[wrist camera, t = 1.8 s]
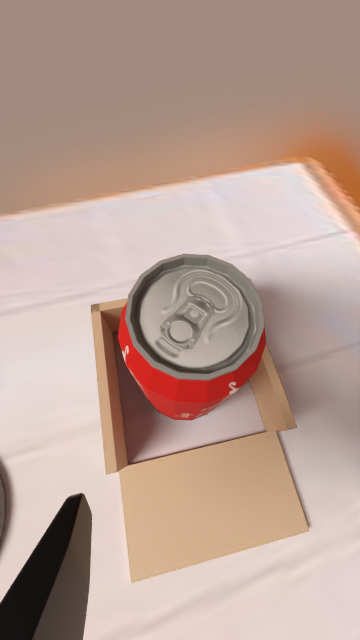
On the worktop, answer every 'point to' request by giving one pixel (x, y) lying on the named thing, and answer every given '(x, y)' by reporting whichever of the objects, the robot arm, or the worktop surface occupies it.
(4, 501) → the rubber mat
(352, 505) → the worktop surface
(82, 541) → the robot arm
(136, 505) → the carton
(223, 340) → the soda can
